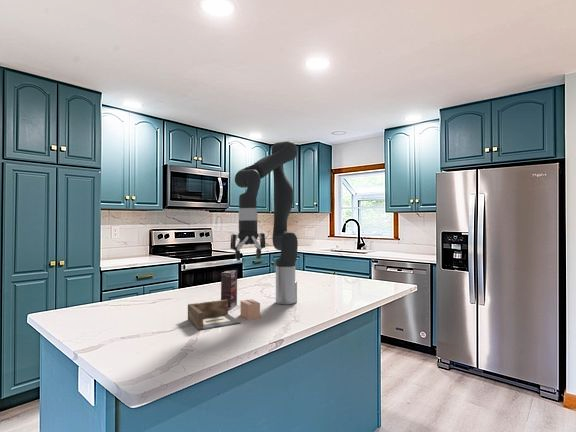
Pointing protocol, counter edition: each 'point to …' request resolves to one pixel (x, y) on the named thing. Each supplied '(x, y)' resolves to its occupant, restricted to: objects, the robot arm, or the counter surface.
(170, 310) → the counter surface
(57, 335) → the counter surface
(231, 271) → the supplement box
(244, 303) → the terracotta block
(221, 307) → the arena
